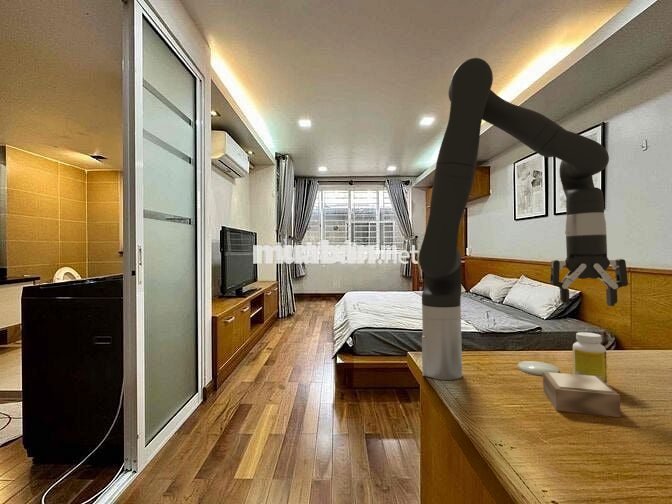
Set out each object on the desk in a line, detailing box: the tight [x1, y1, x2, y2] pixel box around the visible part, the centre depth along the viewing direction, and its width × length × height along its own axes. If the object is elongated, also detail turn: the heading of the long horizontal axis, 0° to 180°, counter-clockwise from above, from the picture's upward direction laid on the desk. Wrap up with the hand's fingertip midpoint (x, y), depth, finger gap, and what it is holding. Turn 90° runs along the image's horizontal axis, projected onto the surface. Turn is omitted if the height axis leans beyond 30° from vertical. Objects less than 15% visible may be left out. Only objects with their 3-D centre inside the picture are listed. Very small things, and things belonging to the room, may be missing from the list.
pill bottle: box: [572, 331, 608, 385], centre depth 79 cm, size 6×6×11 cm
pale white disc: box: [517, 360, 560, 377], centre depth 89 cm, size 9×9×1 cm
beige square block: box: [542, 372, 621, 418], centre depth 69 cm, size 10×10×4 cm
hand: (588, 305), depth 79 cm, fingers open, 8 cm apart
